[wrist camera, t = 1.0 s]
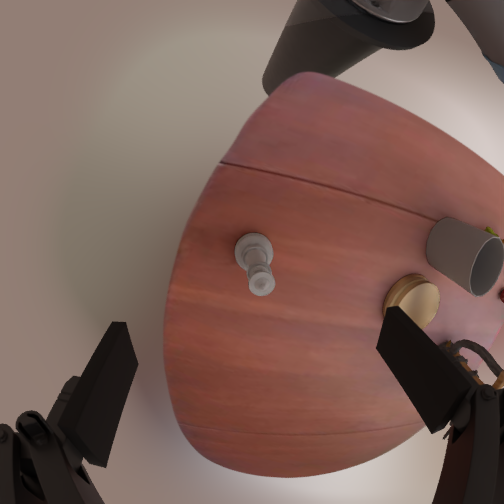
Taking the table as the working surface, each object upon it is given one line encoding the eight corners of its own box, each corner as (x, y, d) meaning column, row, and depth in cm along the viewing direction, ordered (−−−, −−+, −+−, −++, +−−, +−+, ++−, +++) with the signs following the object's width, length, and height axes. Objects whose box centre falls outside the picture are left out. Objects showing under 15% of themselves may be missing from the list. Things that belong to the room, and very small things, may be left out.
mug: (402, 390, 45) (445, 459, 27) (435, 321, 40) (502, 391, 21) (443, 378, 47) (485, 435, 28) (474, 315, 41) (533, 369, 22)
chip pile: (426, 262, 35) (438, 270, 33) (431, 308, 39) (440, 317, 36) (376, 291, 36) (386, 301, 33) (385, 336, 39) (394, 346, 36)
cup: (420, 236, 34) (466, 261, 25) (454, 207, 33) (501, 224, 23) (433, 278, 37) (472, 308, 27) (465, 249, 36) (505, 272, 26)
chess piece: (227, 257, 33) (227, 298, 23) (246, 225, 32) (254, 255, 22) (259, 273, 34) (271, 318, 24) (278, 243, 33) (298, 279, 23)
